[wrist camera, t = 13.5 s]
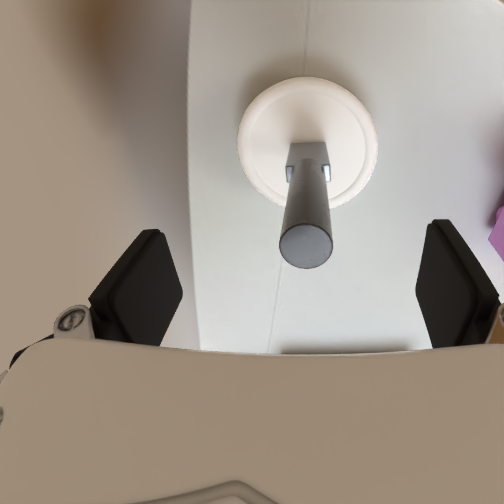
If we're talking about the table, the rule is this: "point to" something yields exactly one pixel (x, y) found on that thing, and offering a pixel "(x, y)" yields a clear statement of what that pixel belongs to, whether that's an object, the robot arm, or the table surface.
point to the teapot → (498, 233)
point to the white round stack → (307, 136)
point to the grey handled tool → (307, 206)
